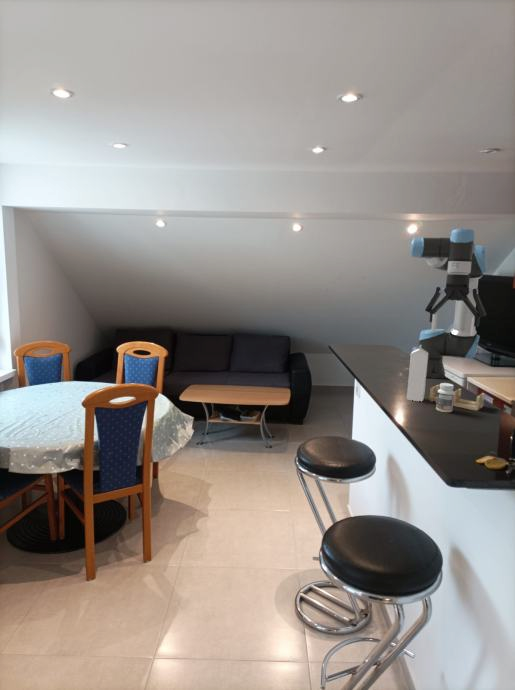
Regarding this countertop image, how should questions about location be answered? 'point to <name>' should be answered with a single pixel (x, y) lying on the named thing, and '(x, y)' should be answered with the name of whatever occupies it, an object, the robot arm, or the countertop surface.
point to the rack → (457, 400)
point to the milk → (417, 375)
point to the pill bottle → (445, 397)
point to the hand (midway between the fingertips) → (452, 333)
